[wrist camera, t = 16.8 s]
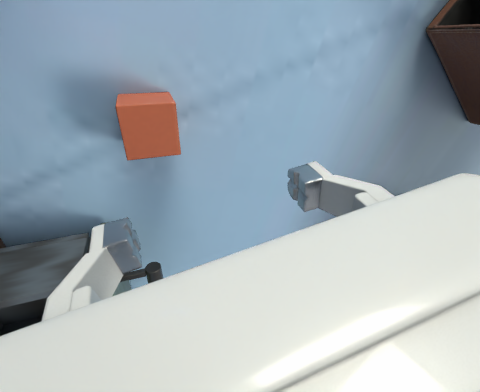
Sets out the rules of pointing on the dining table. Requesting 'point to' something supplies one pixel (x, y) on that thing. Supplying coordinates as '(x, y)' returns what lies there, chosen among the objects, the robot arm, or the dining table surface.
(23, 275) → the drawer
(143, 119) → the block
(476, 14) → the letter holder
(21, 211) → the dining table surface
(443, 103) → the dining table surface
